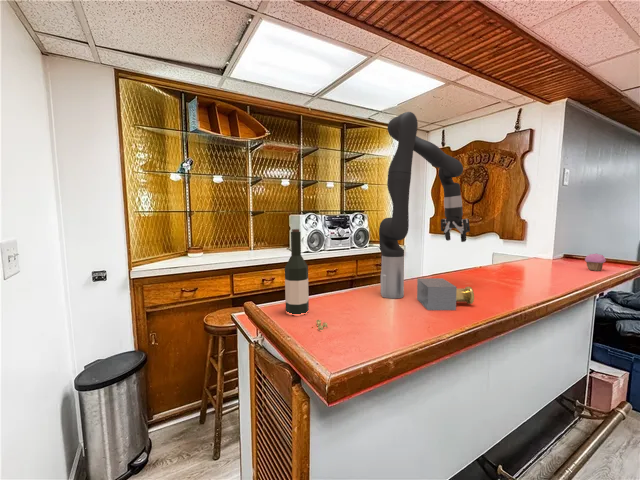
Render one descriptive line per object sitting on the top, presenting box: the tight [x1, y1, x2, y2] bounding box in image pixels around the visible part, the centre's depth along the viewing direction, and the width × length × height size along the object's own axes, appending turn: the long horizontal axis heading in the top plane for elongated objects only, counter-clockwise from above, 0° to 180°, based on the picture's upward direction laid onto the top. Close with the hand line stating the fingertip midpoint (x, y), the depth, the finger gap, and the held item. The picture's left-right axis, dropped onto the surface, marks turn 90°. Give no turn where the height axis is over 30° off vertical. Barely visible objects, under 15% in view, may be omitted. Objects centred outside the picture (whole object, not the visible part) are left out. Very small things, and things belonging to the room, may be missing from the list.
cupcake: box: [584, 253, 607, 272], centre depth 173 cm, size 9×9×10 cm
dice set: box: [315, 319, 328, 331], centre depth 93 cm, size 5×5×2 cm
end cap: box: [456, 286, 475, 305], centre depth 113 cm, size 13×6×6 cm, turn 87°
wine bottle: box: [284, 228, 310, 314], centre depth 105 cm, size 8×8×30 cm
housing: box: [416, 277, 458, 311], centre depth 114 cm, size 10×14×9 cm
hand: (455, 241), depth 138 cm, fingers open, 8 cm apart
